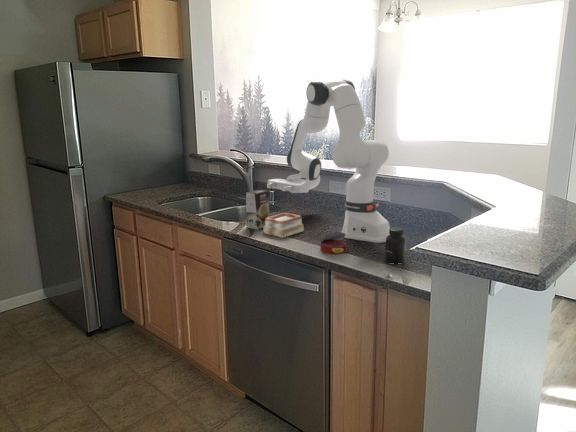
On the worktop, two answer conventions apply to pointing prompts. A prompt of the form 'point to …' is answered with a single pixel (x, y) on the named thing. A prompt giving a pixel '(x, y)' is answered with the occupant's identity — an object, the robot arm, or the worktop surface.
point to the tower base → (283, 232)
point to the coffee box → (257, 208)
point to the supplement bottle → (395, 246)
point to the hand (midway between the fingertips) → (275, 187)
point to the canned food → (333, 243)
